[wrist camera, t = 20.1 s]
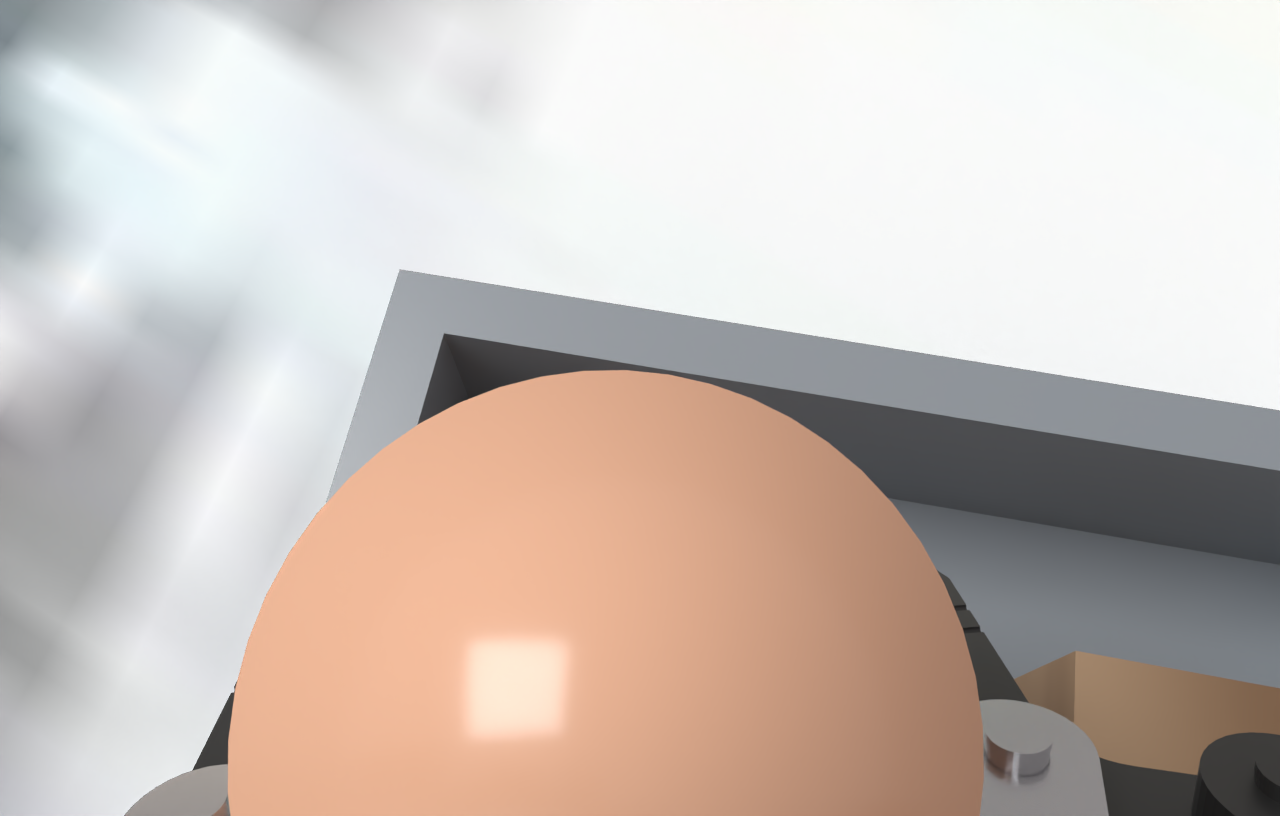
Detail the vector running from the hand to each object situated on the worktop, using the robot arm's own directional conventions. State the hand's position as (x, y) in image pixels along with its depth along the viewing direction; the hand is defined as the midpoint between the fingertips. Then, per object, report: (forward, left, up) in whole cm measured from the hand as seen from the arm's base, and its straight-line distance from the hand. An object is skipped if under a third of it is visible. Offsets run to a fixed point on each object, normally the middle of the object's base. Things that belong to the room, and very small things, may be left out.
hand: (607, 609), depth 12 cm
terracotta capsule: (0, -2, -5) cm, 5 cm away
